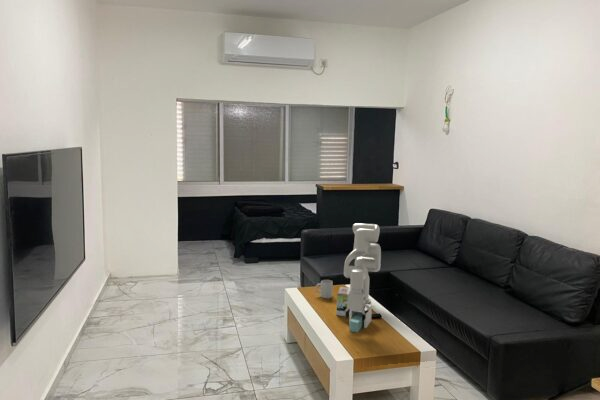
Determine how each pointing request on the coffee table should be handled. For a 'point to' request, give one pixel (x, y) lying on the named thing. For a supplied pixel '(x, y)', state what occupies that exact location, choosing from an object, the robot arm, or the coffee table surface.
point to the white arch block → (368, 314)
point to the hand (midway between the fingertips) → (355, 318)
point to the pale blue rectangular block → (356, 323)
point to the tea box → (342, 300)
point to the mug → (325, 288)
